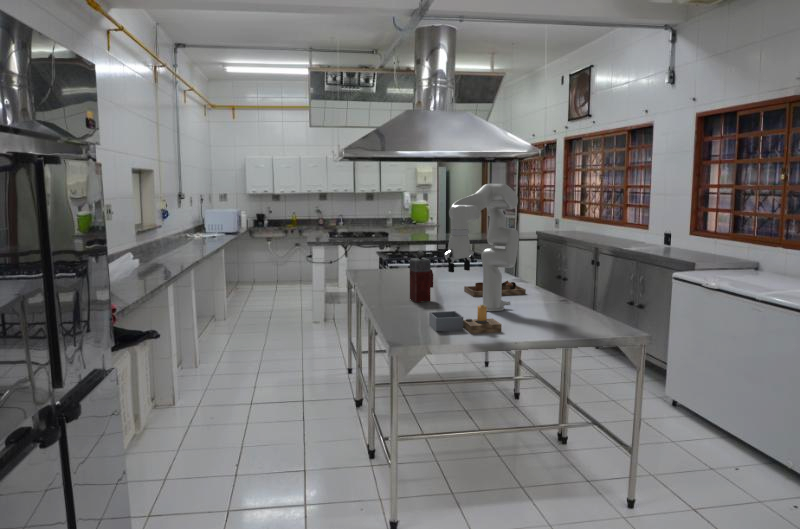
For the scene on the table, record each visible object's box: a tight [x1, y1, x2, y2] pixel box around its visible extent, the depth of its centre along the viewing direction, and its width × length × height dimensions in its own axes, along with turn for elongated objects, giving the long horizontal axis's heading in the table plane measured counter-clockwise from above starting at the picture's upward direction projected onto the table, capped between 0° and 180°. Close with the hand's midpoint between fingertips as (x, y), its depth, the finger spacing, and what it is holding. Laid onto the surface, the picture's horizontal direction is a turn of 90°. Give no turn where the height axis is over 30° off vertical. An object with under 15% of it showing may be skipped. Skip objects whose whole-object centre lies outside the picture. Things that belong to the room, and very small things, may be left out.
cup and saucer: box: [473, 282, 483, 291], centre depth 334 cm, size 12×12×6 cm
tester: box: [463, 318, 502, 335], centre depth 250 cm, size 14×11×4 cm
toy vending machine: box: [409, 250, 434, 303], centre depth 314 cm, size 9×11×28 cm
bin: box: [428, 310, 464, 332], centre depth 254 cm, size 12×12×6 cm
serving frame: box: [463, 284, 527, 298], centre depth 336 cm, size 32×17×3 cm, turn 101°
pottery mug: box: [502, 280, 517, 290], centre depth 337 cm, size 12×10×8 cm
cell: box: [476, 303, 488, 324], centre depth 250 cm, size 4×4×10 cm
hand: (459, 271), depth 256 cm, fingers open, 9 cm apart
